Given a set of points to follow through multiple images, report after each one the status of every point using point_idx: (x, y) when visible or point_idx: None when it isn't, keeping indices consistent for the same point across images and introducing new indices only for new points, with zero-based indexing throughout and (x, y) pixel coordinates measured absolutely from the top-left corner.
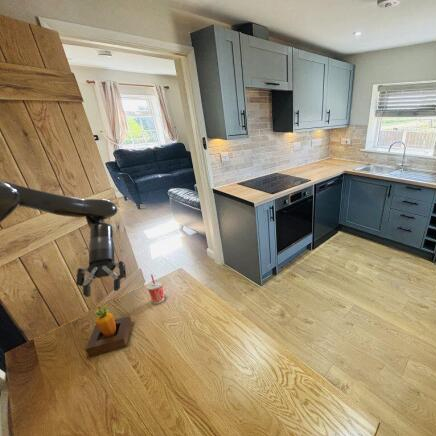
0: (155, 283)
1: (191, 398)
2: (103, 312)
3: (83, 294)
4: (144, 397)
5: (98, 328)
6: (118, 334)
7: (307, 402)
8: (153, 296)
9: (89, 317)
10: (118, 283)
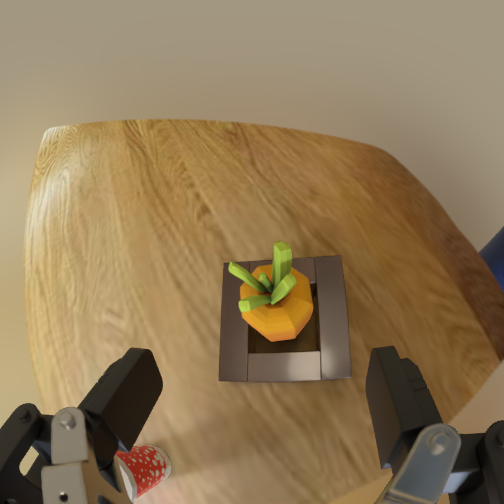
0: None
1: (129, 146)
2: (258, 275)
3: (413, 364)
4: (188, 151)
5: (331, 348)
6: None
7: (54, 142)
8: (139, 453)
9: None
10: (96, 386)
